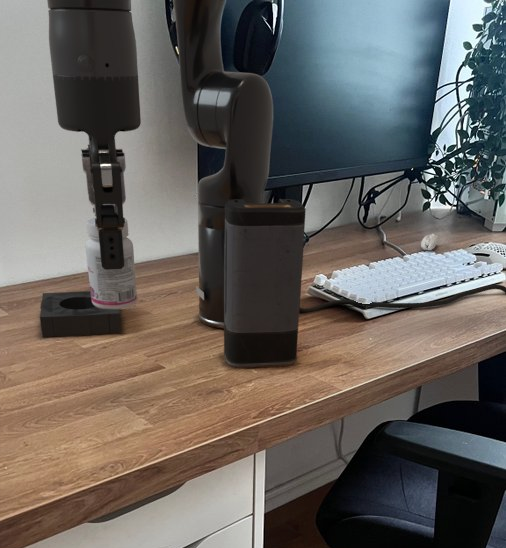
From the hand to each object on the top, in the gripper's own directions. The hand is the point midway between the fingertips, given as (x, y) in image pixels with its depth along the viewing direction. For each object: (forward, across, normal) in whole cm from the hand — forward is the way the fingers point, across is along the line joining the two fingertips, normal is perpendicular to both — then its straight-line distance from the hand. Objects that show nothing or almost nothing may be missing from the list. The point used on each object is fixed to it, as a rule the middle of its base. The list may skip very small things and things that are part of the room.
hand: (111, 260), depth 70 cm
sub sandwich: (+18, +65, -69) cm, 96 cm away
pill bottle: (+5, 0, 0) cm, 5 cm away
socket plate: (+17, +29, +4) cm, 34 cm away
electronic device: (+17, +11, -19) cm, 28 cm away
